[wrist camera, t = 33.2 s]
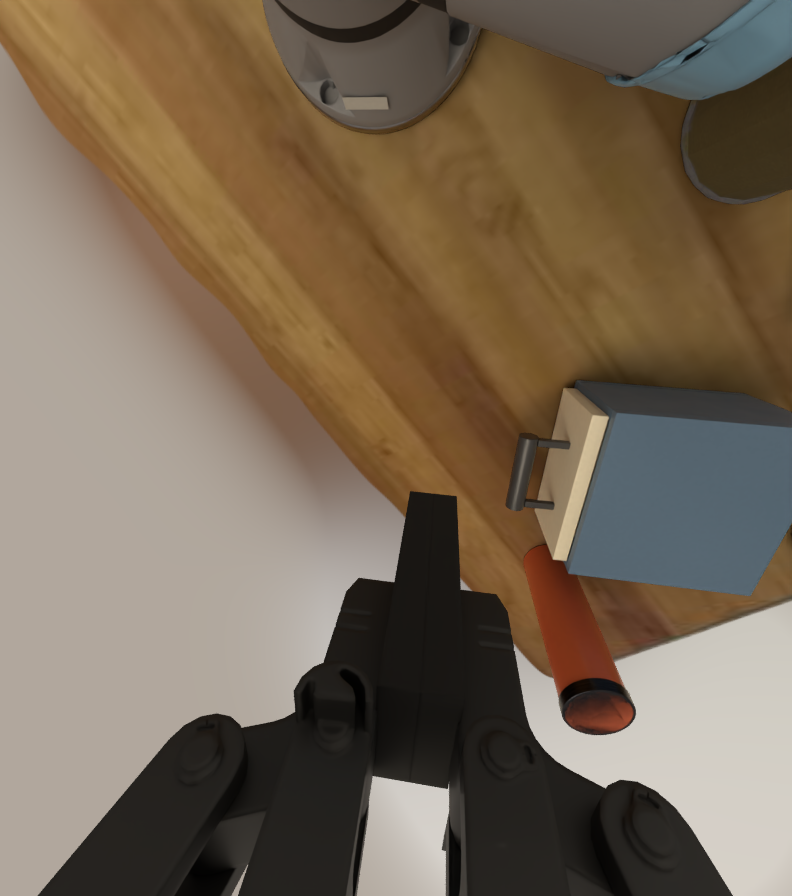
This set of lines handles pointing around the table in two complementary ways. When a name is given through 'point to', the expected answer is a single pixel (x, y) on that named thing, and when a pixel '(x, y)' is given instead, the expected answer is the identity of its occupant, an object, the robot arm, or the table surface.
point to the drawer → (561, 470)
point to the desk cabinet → (685, 488)
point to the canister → (742, 140)
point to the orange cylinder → (576, 649)
